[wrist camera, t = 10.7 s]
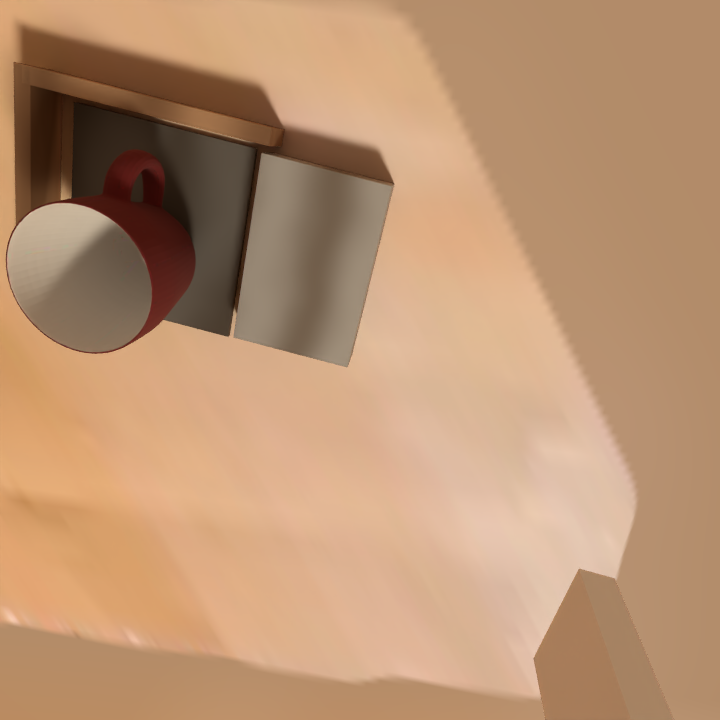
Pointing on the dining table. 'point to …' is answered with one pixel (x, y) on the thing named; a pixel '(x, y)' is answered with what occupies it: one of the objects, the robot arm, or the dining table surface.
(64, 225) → the mug
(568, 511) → the dining table surface
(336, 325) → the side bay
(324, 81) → the dining table surface
